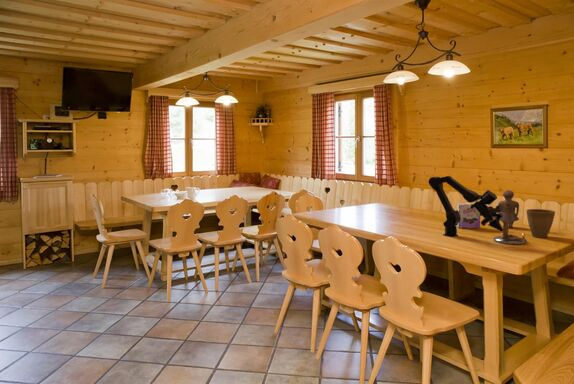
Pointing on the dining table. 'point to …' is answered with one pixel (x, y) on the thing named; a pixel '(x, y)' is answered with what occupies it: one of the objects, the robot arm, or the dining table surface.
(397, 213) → the dining table surface
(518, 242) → the post base
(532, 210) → the plant pot
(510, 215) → the clay figurine
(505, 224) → the crank handle
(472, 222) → the candy box
